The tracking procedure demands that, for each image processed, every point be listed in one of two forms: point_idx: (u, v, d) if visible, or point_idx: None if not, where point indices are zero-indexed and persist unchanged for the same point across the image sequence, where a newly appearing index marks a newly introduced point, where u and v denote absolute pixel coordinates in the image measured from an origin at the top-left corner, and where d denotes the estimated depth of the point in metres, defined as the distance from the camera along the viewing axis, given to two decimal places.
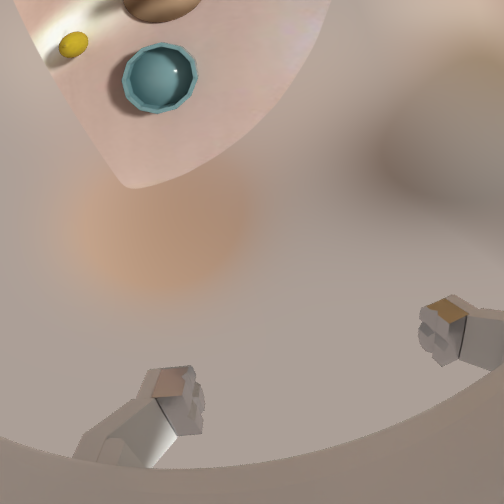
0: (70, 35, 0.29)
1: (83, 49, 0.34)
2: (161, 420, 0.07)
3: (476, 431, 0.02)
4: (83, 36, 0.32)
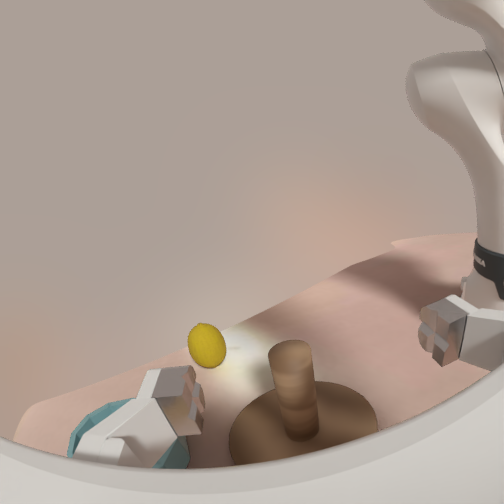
0: (214, 331, 0.39)
1: (195, 356, 0.38)
2: (161, 420, 0.07)
3: (476, 431, 0.02)
4: (213, 350, 0.38)
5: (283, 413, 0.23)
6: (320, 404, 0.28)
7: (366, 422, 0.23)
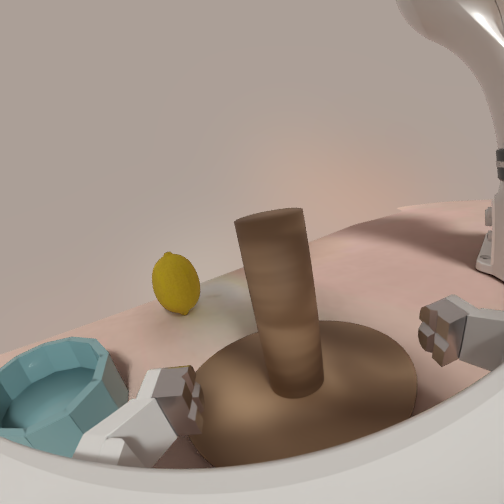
0: (185, 261, 0.31)
1: (159, 293, 0.30)
2: (161, 420, 0.07)
3: (476, 431, 0.02)
4: (181, 284, 0.30)
5: (263, 340, 0.15)
6: (324, 347, 0.20)
7: (397, 368, 0.16)
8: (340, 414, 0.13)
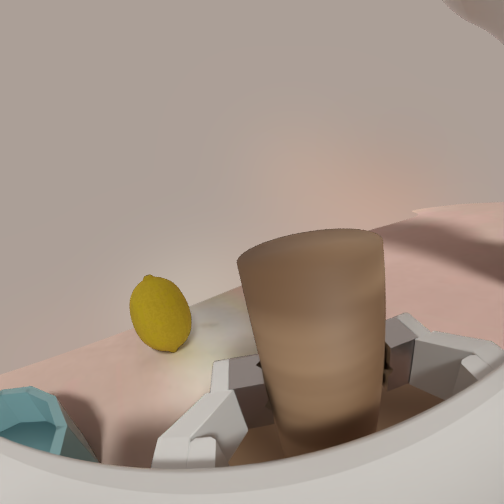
0: (170, 287, 0.23)
1: (138, 328, 0.22)
2: (237, 413, 0.07)
3: (476, 431, 0.02)
4: (165, 318, 0.22)
5: (288, 452, 0.08)
6: None
7: None
8: None
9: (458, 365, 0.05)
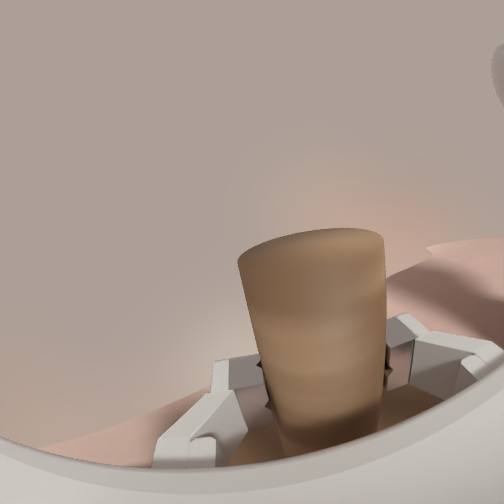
0: None
1: None
2: (237, 413, 0.07)
3: (476, 431, 0.02)
4: None
5: (289, 452, 0.08)
6: None
7: None
8: None
9: (458, 364, 0.05)
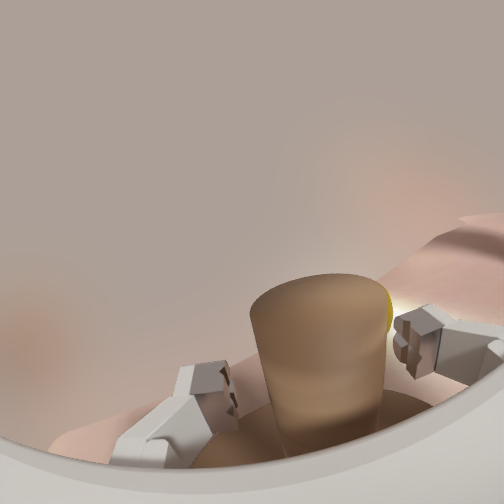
0: None
1: None
2: (199, 418, 0.07)
3: (476, 431, 0.02)
4: (388, 315, 0.25)
5: None
6: None
7: None
8: None
9: (483, 350, 0.05)
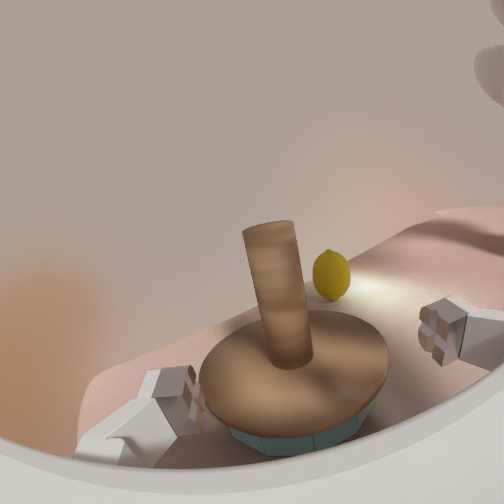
0: (342, 256, 0.39)
1: (326, 283, 0.38)
2: (161, 420, 0.07)
3: (476, 431, 0.02)
4: (344, 274, 0.37)
5: (264, 321, 0.20)
6: (314, 331, 0.25)
7: (372, 346, 0.21)
8: (325, 380, 0.18)
9: None
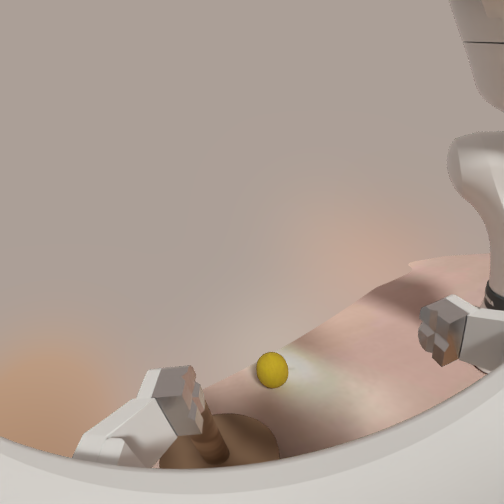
0: (281, 358, 0.45)
1: (265, 380, 0.44)
2: (161, 420, 0.07)
3: (476, 431, 0.02)
4: (280, 374, 0.44)
5: (192, 442, 0.27)
6: (236, 435, 0.32)
7: (267, 458, 0.27)
8: None
9: None
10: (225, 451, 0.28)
